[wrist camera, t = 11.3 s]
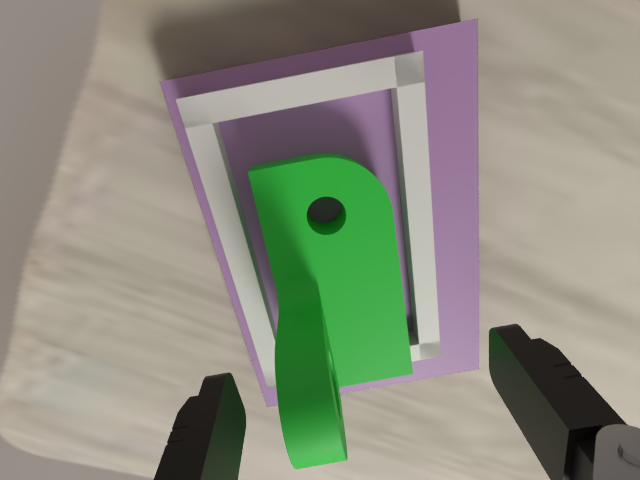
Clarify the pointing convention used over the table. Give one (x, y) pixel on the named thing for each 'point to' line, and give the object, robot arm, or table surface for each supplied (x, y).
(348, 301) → the mechanical part
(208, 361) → the table surface
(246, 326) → the door panel
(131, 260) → the table surface
